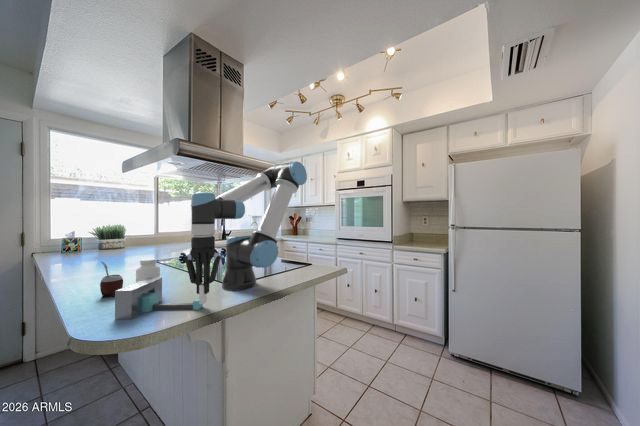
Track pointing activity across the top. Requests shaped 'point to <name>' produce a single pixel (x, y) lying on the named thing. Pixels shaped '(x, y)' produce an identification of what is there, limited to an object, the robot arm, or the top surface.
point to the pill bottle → (147, 269)
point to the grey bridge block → (135, 297)
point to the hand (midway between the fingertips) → (202, 302)
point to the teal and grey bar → (151, 303)
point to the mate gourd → (110, 284)
